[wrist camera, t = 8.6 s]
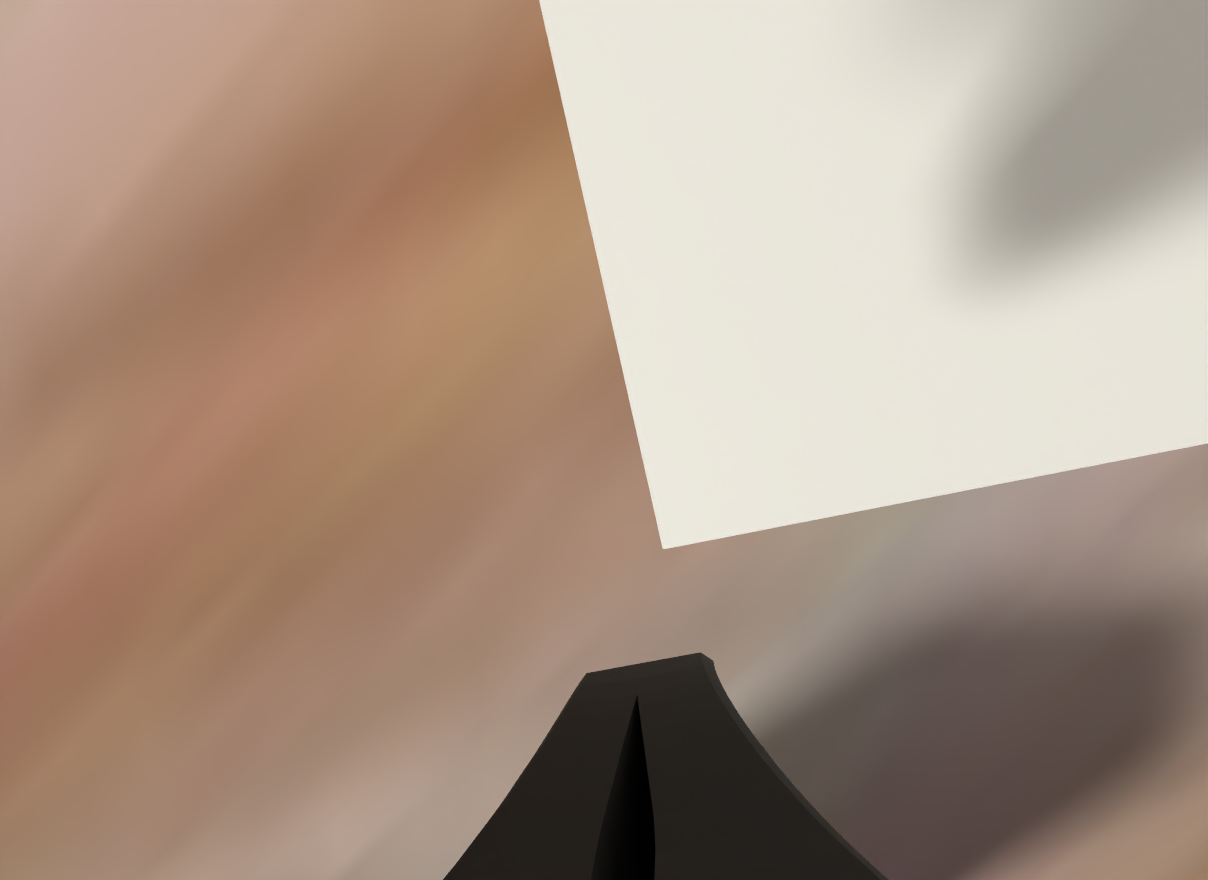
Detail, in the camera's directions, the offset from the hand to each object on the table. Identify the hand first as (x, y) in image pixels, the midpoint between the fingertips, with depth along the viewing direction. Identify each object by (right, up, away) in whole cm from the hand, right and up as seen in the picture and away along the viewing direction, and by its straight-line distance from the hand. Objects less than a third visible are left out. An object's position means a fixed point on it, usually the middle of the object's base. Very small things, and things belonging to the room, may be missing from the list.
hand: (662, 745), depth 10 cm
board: (+5, +10, +7) cm, 13 cm away
